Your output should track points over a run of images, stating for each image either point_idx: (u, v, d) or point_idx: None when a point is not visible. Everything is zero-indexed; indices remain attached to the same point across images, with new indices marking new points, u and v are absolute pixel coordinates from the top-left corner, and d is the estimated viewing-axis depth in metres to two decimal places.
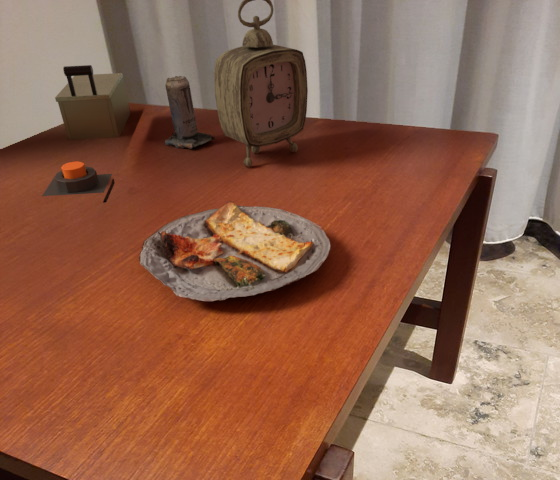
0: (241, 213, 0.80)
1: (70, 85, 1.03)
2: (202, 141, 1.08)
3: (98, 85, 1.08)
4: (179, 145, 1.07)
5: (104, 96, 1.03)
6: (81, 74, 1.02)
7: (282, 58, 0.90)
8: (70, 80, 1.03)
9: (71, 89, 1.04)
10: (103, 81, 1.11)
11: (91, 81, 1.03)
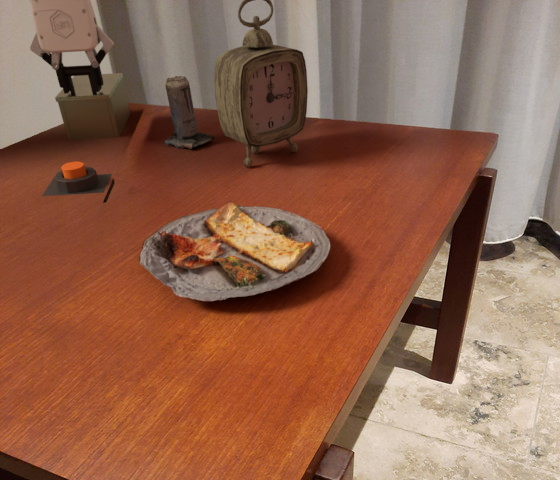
0: (241, 213, 0.80)
1: (70, 85, 1.03)
2: (202, 141, 1.08)
3: None
4: (179, 145, 1.07)
5: (104, 96, 1.03)
6: (81, 74, 1.02)
7: (282, 58, 0.90)
8: (70, 80, 1.03)
9: (71, 89, 1.04)
10: (103, 81, 1.11)
11: (91, 81, 1.03)
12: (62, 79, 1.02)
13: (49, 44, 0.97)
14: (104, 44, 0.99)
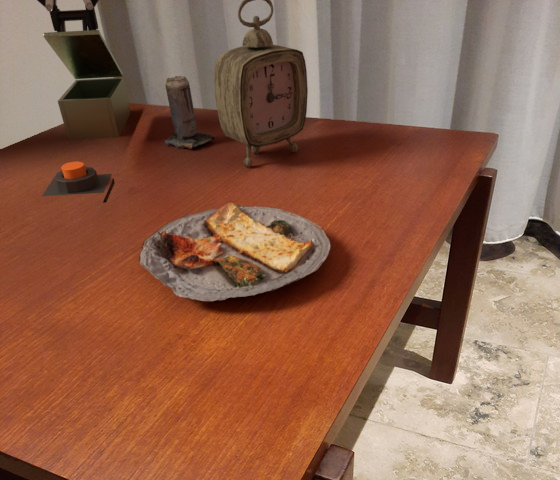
0: (241, 213, 0.80)
1: (62, 28, 1.01)
2: (202, 141, 1.08)
3: None
4: (179, 145, 1.07)
5: (94, 31, 0.99)
6: (75, 16, 1.01)
7: (282, 58, 0.90)
8: (63, 23, 1.01)
9: (62, 32, 1.01)
10: None
11: (84, 24, 1.01)
12: (56, 21, 1.00)
13: None
14: None
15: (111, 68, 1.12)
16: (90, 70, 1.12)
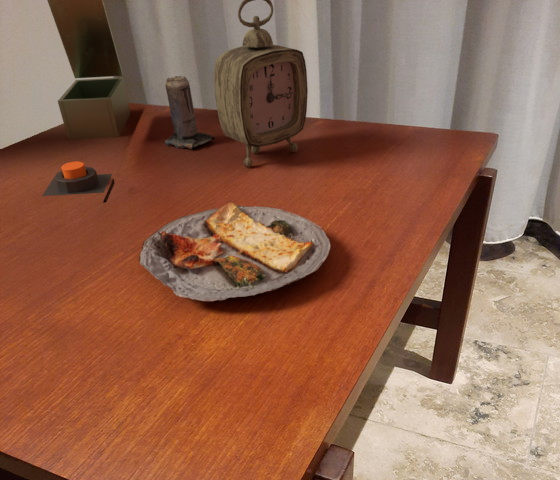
0: (241, 213, 0.80)
1: None
2: (202, 141, 1.08)
3: None
4: (179, 145, 1.07)
5: None
6: None
7: (282, 58, 0.90)
8: None
9: None
10: None
11: None
12: None
13: None
14: None
15: (111, 58, 1.12)
16: (90, 61, 1.13)
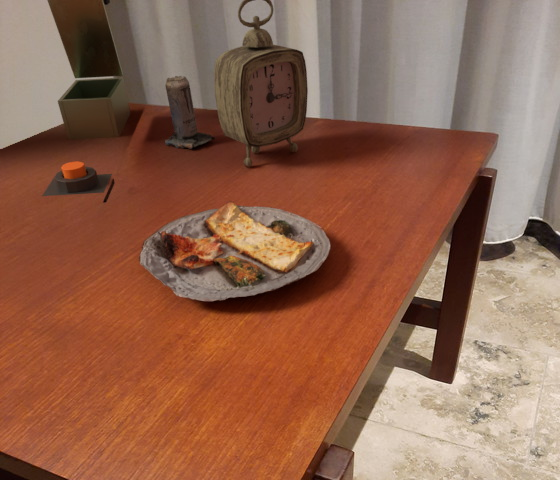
0: (241, 213, 0.80)
1: None
2: (202, 141, 1.08)
3: None
4: (179, 145, 1.07)
5: None
6: None
7: (282, 58, 0.90)
8: None
9: None
10: None
11: None
12: None
13: None
14: None
15: (111, 58, 1.12)
16: (90, 61, 1.13)
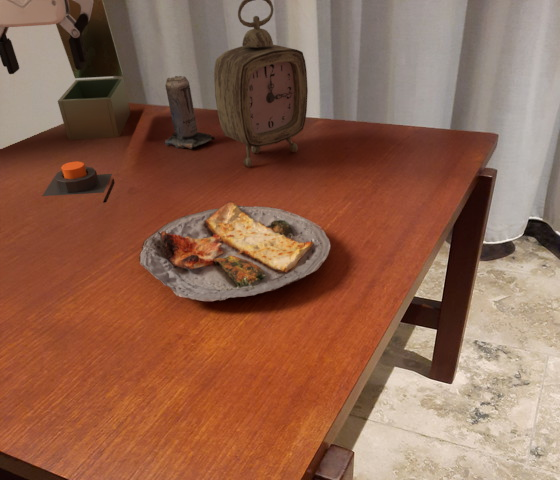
0: (241, 213, 0.80)
1: None
2: (202, 141, 1.08)
3: None
4: (179, 145, 1.07)
5: None
6: None
7: (282, 58, 0.90)
8: None
9: None
10: None
11: None
12: (5, 55, 0.78)
13: (2, 16, 0.74)
14: (81, 4, 0.76)
15: (111, 58, 1.12)
16: (90, 61, 1.13)
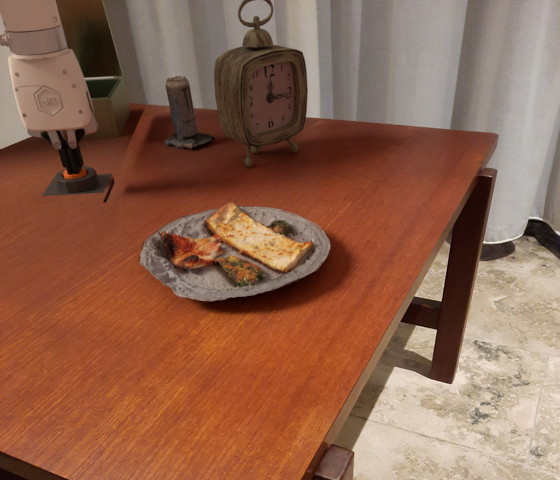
0: (241, 213, 0.80)
1: None
2: (202, 141, 1.08)
3: None
4: (179, 145, 1.07)
5: None
6: None
7: (282, 58, 0.90)
8: None
9: None
10: None
11: None
12: (65, 159, 0.87)
13: (34, 123, 0.82)
14: (87, 125, 0.85)
15: (111, 58, 1.12)
16: (90, 61, 1.13)
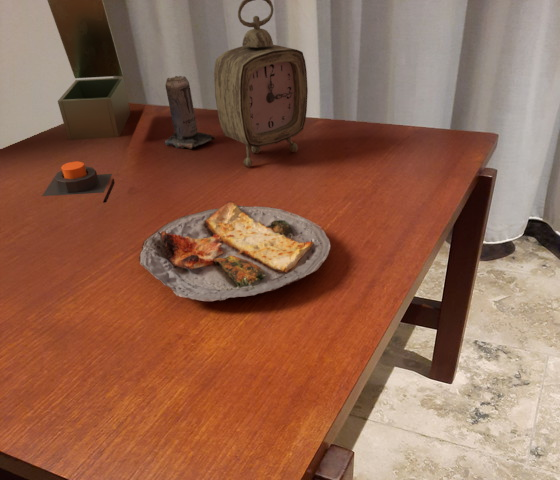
0: (241, 213, 0.80)
1: None
2: (202, 141, 1.08)
3: None
4: (179, 145, 1.07)
5: None
6: None
7: (282, 58, 0.90)
8: None
9: None
10: None
11: None
12: None
13: None
14: None
15: (111, 58, 1.12)
16: (90, 61, 1.13)
